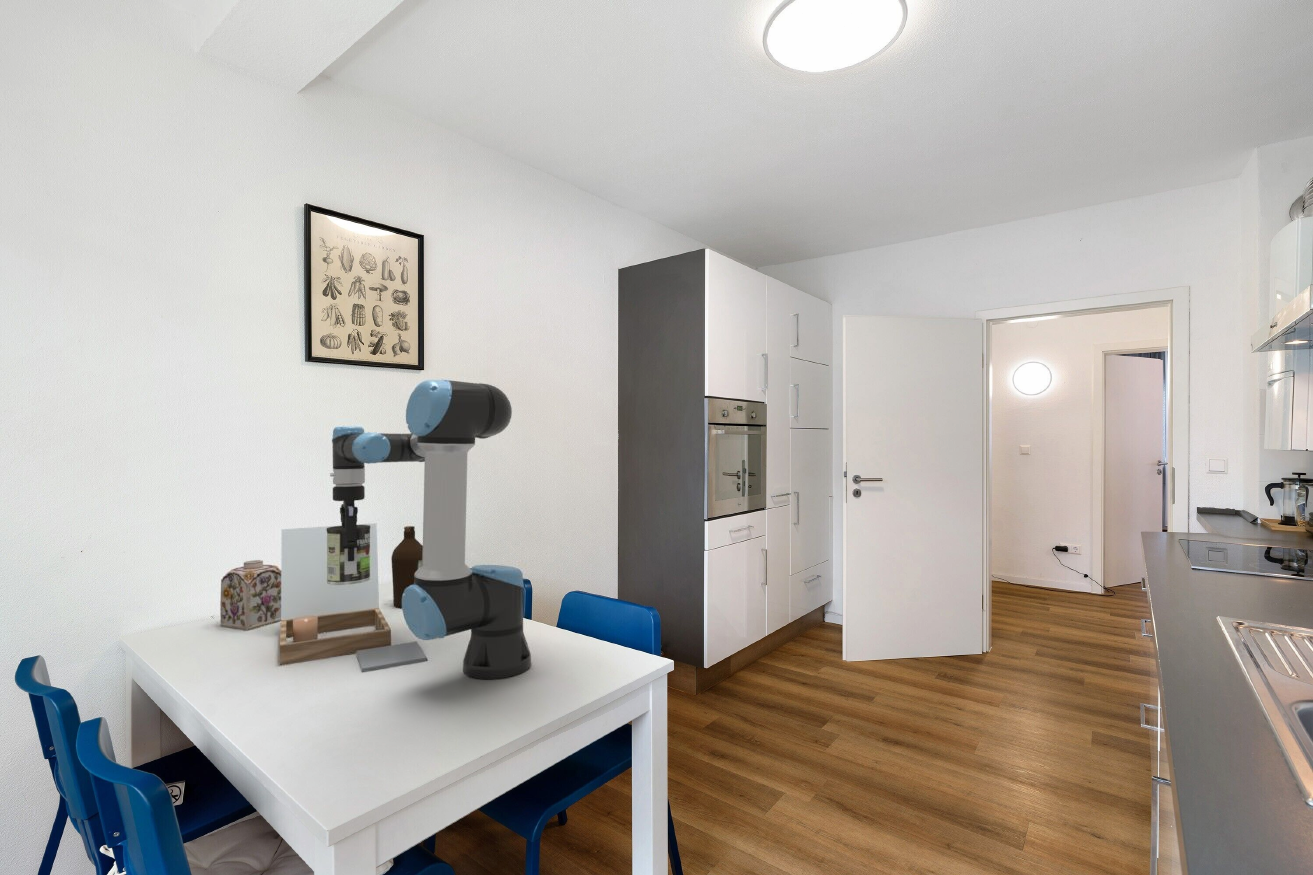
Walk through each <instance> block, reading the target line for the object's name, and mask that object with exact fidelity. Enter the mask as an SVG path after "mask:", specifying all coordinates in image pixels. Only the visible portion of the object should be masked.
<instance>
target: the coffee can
mask: <svg viewBox="0 0 1313 875" xmlns="http://www.w3.org/2000/svg"><path fill="white" fill-rule="evenodd" d="M333 526H334V527H329V528H327V583H328V584H331V585H346V584H355V583H361V582H365V581H368V580H370V526H369V525H358V524H357V543H358V545H357V547H356V548H357V573H355V574H346V575H345V549H342V546H345V532H346V529H345V527H343V526H341V525H333Z"/></svg>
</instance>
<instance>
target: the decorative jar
mask: <svg viewBox="0 0 1313 875" xmlns="http://www.w3.org/2000/svg"><path fill="white" fill-rule="evenodd" d="M219 601H220V607H219V608H220V609H219V610H220V611H219V612H220V617H219V618H220V626H221V627H225V628H230V629H236V630H242V629H243V631H250V629H251V630H254V629H257V628H261V626H262V627H265V626H268V624H269V625H272V624H275V623H274V622H276V623H279V622H281V568H280V567H279V566H278V565H272V564H264V560H262V559H253V560H245V561H244V562H243V566H240V567H234V568H232V569H230V570H229V571H228V572H226V574H225V575H224V576H222V578H221V579H220V600H219ZM271 623H272V624H271ZM264 625H265V626H264Z"/></svg>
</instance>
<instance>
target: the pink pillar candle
mask: <svg viewBox="0 0 1313 875" xmlns="http://www.w3.org/2000/svg"><path fill="white" fill-rule="evenodd" d="M318 634H319V633H318V617H317V616H302V617H298V618H295V619H293V637H292V643H294V642H301V641H308V640H315V639H319V638H318Z"/></svg>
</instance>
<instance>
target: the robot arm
mask: <svg viewBox="0 0 1313 875" xmlns="http://www.w3.org/2000/svg"><path fill="white" fill-rule="evenodd" d="M407 401H408V402H407V404H406V410H405V423H406V425H407V429H408V431H409V433H384V432H383V433H382V432H380V433H377V432H370V431H368V432H365V429H364V428H363V427H362V426H355V425H353V426H352V425H349V426H344V425H343V426H335V427H334V428H333V430H332V439H331V443H332V471H333V472H331V473H329V477H330V478H331V477H332V484H333V485H335V486H333V487H332V500H333V501H335V502H342V504H341V505H340V507H339V513H340V522H341V525H340V526H343V527H345V529H346V532H345V546H342V549H345V575H346V574H355V573H357V548H356V547H357V545H358V543H357V525H358V523H357V522H358V512H359V509H358V508H359V507H358V506H355V501H363V500H365V497H366V496H365V491H366V490H365V486H364V484H365V482H366V478H365V477H366V468H365V467H366V466H365V464H368V465H369V464H380V463H381V464H382V463H404V462H405V463H410V462H411V463H413V462H414V463H415V462H418V463H424V473H423V474H424V475H423V476H424V477H423V516H422V518H423V520H422V521H423V522H422V546H423V557H422V566H421V567H420V568H419V569H418V570H417V571H416V572H415V574H414V585H410V586H409V587H407V588H406V589H405V590H404V593H403V595H402V608H401V609H402V614H403V618H404V621H405V624H406V625H407V627H408V628H409V630H410V632H411V633H412V635H414V637H416V638H417V639H419V640H422V641H431V640H436V639H444V638H445V637H449V636H452V635H455V634H456V635H457V634H460V633H464V632H466V631H470V639H469V641H468V643H467V646H466V650H465V653H464V657H463V661H462V672H463V674H464V675H466V676H468V677H470V678H474V679H481V680H482V679H483V680H493V679H494V680H495V679H503V678H509V677H514V676H517V675H520V674H522V673H524V672H526V671H528V670H529V668H530V667H531V666H532V654H531V651H530V646H529V644H528V642H527V639H526V638H527V637H526V636H525V632H524V588H525V585H524V579H523V578H524V577H523V572H522V570H521V569H519V568H517V567H515V566H508V565H501V564H500V565H499V564H477V565H473V566H472V567H471V568H470V567H469V566H468V565H467V564H466V540H467V539H466V537H467V536H466V534H467V533H466V532H467V531H466V530H467V529H466V528H467V526H466V525H467V493H468V491H467V490H468V488H467V486H468V452H469V451H470V450H471V449H473V447H474V446H475V445H476V439H480V440H481V439H482V440H484V439H488V438H491V437H494V436H496V435H498V434H500V433H502V432H504V430H505V429H507V427H508V426H509V425H510V422H511V419H512V414H513V413H512V412H513V410H512V408H513V407H512V405H511V402H510V400H509V397H508V396H507V395H506V394H505V393H504V392H503V391H502V389H500V388H499V387H496V386H495V385H491V384H489V383H481V382H480V383H479V382H478V383H477V382H468V381H467V382H466V381H458V380H450V379H426V380H424V381H421V382H420V383H418V384H417V385H416V386H415V387H414V389H413V391H412V392H411V394H410V395H409V398H408V400H407Z"/></svg>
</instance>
